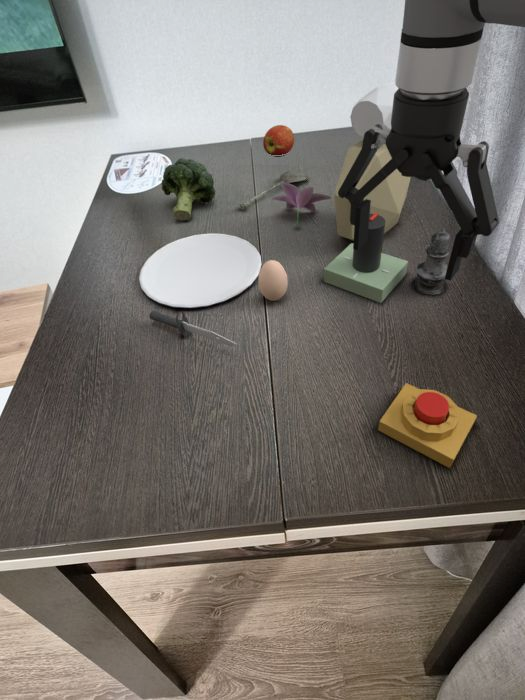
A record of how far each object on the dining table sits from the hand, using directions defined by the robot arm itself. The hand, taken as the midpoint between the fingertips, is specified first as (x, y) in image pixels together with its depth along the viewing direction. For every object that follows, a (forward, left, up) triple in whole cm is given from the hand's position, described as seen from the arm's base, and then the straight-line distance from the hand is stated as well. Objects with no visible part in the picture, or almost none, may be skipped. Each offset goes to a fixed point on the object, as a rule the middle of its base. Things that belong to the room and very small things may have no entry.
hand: (403, 259), depth 61 cm
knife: (+27, +18, -15) cm, 36 cm away
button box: (-12, +13, -15) cm, 23 cm away
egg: (+22, +2, -16) cm, 27 cm away
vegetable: (+60, -15, -16) cm, 64 cm away
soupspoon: (+47, -31, -16) cm, 59 cm away
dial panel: (+11, -12, -15) cm, 22 cm away
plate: (+40, +3, -16) cm, 43 cm away
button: (-12, +13, -12) cm, 21 cm away
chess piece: (0, -16, -16) cm, 22 cm away
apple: (+59, -50, -16) cm, 79 cm away
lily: (+34, -24, -16) cm, 45 cm away
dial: (+11, -12, -12) cm, 20 cm away
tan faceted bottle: (+18, -27, -16) cm, 36 cm away
